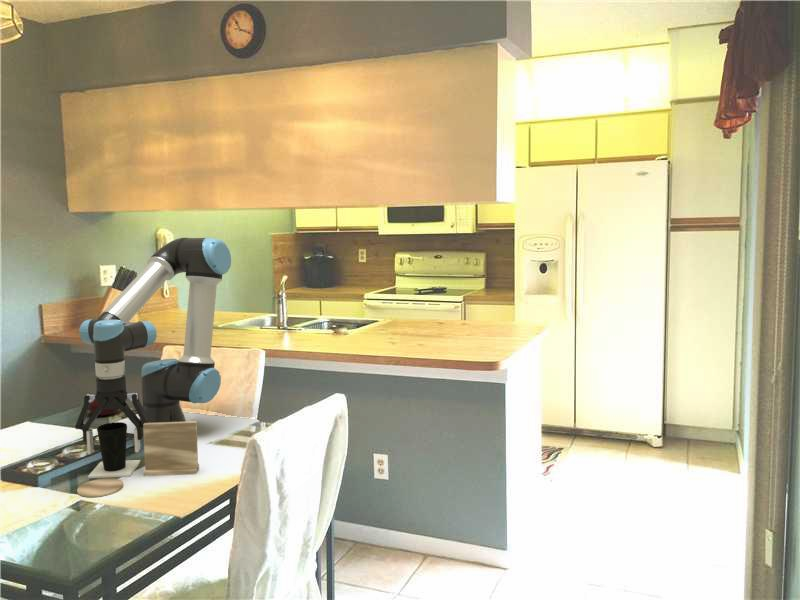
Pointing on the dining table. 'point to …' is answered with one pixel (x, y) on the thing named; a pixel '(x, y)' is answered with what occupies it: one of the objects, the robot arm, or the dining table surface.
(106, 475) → the stone coaster
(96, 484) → the cork coaster
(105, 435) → the cup
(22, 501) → the dining table surface
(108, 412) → the potato
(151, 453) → the screen
